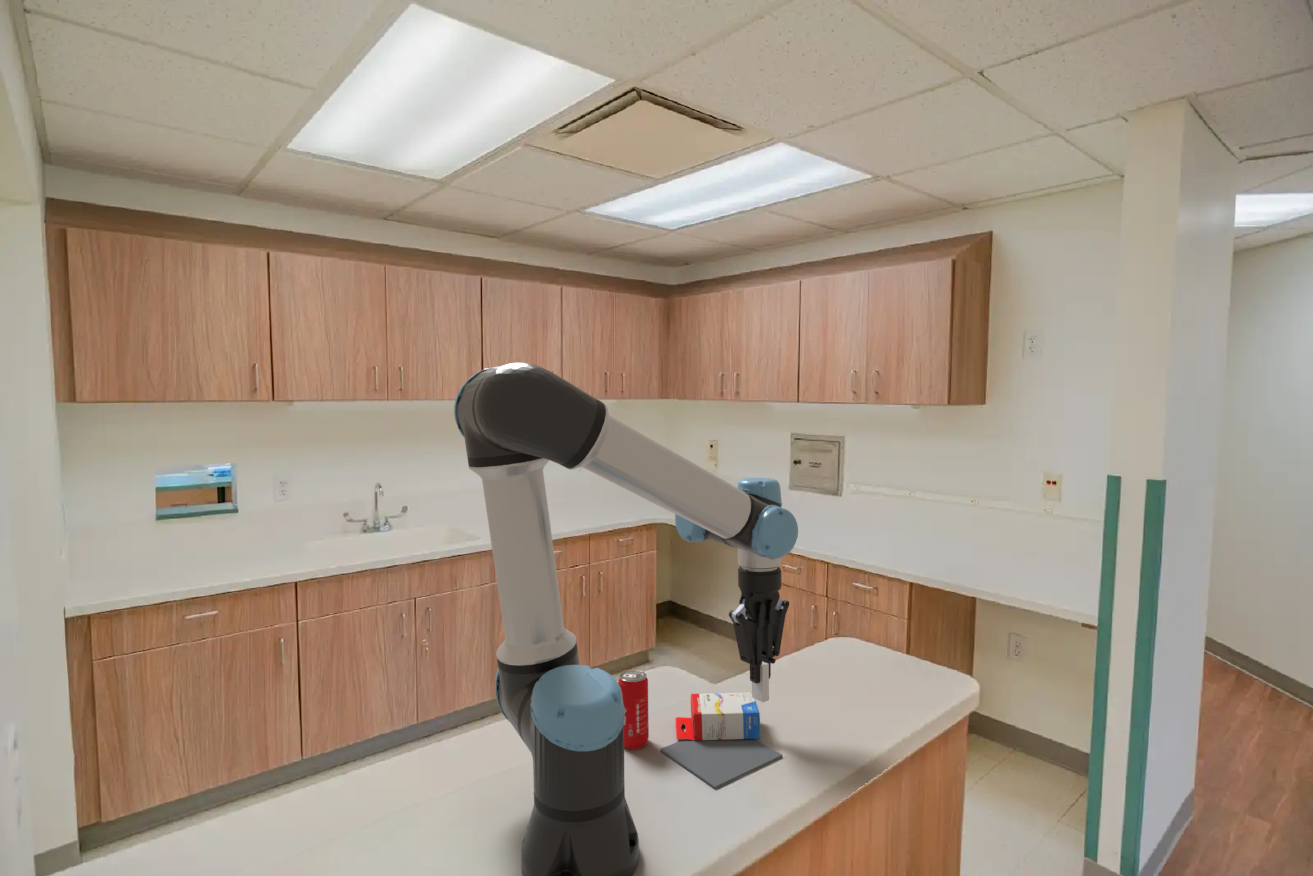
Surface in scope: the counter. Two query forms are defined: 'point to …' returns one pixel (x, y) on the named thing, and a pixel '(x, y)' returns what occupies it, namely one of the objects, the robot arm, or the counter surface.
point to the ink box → (720, 717)
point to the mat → (720, 758)
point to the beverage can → (635, 708)
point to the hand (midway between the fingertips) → (760, 698)
